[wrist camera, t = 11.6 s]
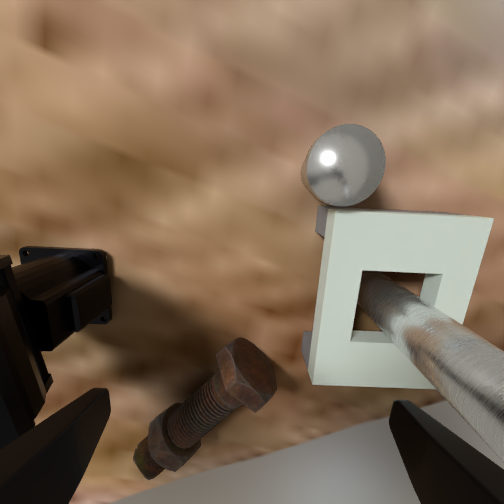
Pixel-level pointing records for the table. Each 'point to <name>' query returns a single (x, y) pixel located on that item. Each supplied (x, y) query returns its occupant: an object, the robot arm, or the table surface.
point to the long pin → (442, 353)
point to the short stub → (344, 165)
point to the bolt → (207, 408)
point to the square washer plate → (393, 260)
